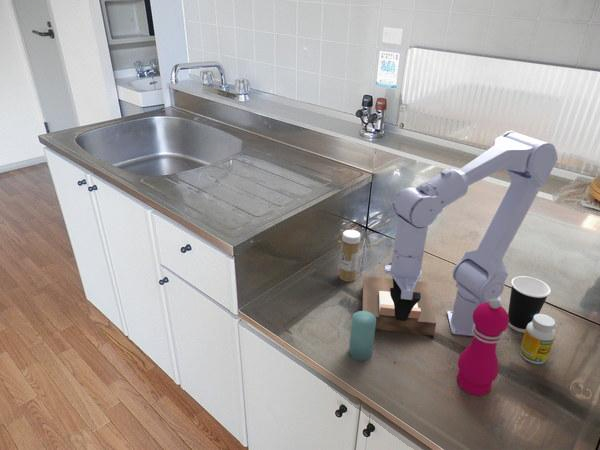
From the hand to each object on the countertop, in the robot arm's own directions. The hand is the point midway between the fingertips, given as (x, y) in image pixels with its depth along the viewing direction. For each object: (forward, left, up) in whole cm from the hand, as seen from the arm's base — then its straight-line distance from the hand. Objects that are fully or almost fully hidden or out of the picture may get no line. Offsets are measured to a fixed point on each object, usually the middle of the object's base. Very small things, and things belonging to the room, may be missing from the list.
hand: (399, 307), depth 92 cm
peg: (+7, +3, -10) cm, 13 cm away
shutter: (-1, -9, -7) cm, 12 cm away
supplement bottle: (-29, -2, -11) cm, 31 cm away
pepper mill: (-15, +8, -11) cm, 20 cm away
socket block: (-1, -13, -10) cm, 17 cm away
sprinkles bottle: (+11, -25, -11) cm, 29 cm away
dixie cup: (-29, -12, -11) cm, 33 cm away
